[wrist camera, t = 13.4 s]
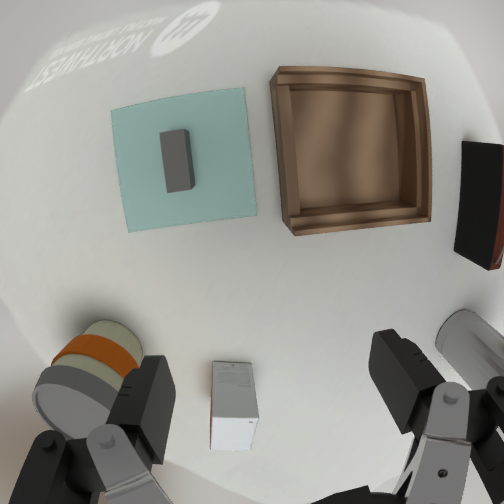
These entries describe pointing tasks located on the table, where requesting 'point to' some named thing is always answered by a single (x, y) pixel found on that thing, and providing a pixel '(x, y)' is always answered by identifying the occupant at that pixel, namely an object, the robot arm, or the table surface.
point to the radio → (481, 205)
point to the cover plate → (208, 158)
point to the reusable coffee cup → (86, 379)
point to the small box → (233, 407)
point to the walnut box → (351, 148)
